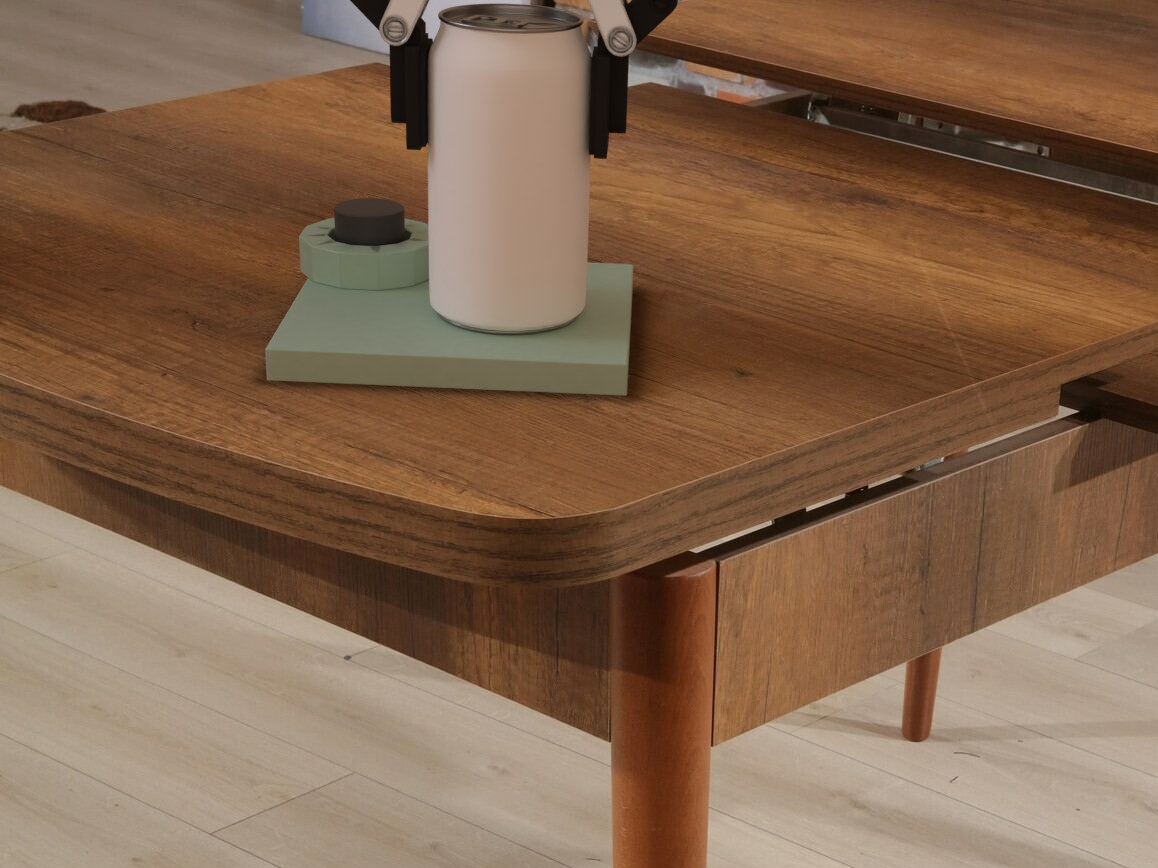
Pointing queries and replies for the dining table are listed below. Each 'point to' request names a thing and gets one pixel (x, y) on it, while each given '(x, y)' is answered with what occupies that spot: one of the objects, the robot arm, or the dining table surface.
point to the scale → (436, 327)
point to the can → (508, 167)
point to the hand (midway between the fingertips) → (509, 142)
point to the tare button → (369, 222)
